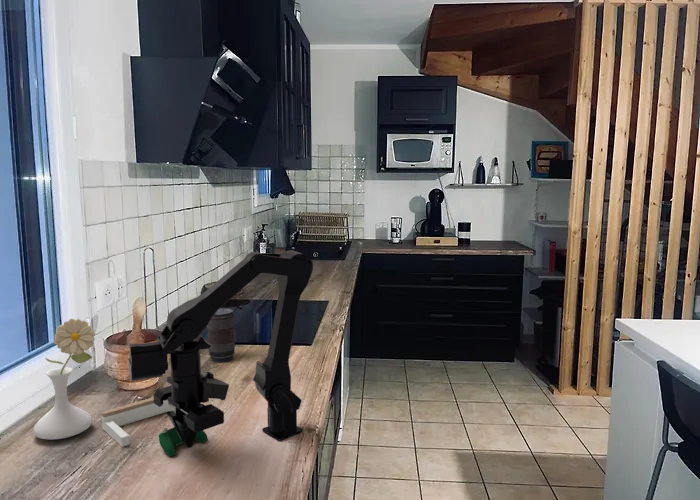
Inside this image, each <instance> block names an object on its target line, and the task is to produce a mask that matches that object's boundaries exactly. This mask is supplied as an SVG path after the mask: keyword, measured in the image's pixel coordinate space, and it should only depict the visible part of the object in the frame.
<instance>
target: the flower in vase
mask: <svg viewBox="0 0 700 500" xmlns="http://www.w3.org/2000/svg"><path fill="white" fill-rule="evenodd" d="M95 335H96V332H95V329H92V325H89V322H88V321H86V320H85V319H84V320H81V319H80V318H77V319H75V318H70V319H68V320H66V321H63V324H60V325H58V326H57V327H56V330H55V334H54V342H53V344H54V345H56V347H57V349H60V352H61V353H62V354H63V353H65V354H68V358H67V359H66V360H65V362H62V361H59V360H58V361H57V360H52V359H48V358H47V357H45V360H46V361H47V362H49V363H55V364H60V365H62V367H58V368H57V367H56V368H53V369H50V370H48V371H47V372H45V375H46V376H47V377H48V378H49V379H50V380H51V383H52V385H53V388H54V397H55V402H54V405H53V407H52V408H51V409H50V410H49V411H48V412H47V413H45V414H44V415H43V416H42V417H41V418H39V420H38V421H36V423H35V425H34V427H33V429H32V432H33V434H34V436H36V437H37V438H39V439H42V440H63V439H67V438H70V437H74V436H76V435H78V434H81V433H82V432H85V431H86V430H87V429H88V428H89V427H90V426H91V425H92V423H93V418H92V416H91V414H90V413H88V412H87V411H86V410H84V409H81V408H80V407H77V406H75V405H73V404H71V403H70V402H69V398H68V381H69V378H70V375H71V373H72V372H73V370H74V369H73V368H72V367H67V364H68V363H69V361H70V360H72V361H74V362H75V363H77V364H82V363H85V362H86V361H89V360H91V359H93V356H92V355H91V354H89V353H88V352H86V351H88V350H89V349H90V348H92V347H93V346H94V341H95V339H96V338H95Z"/></svg>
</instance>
